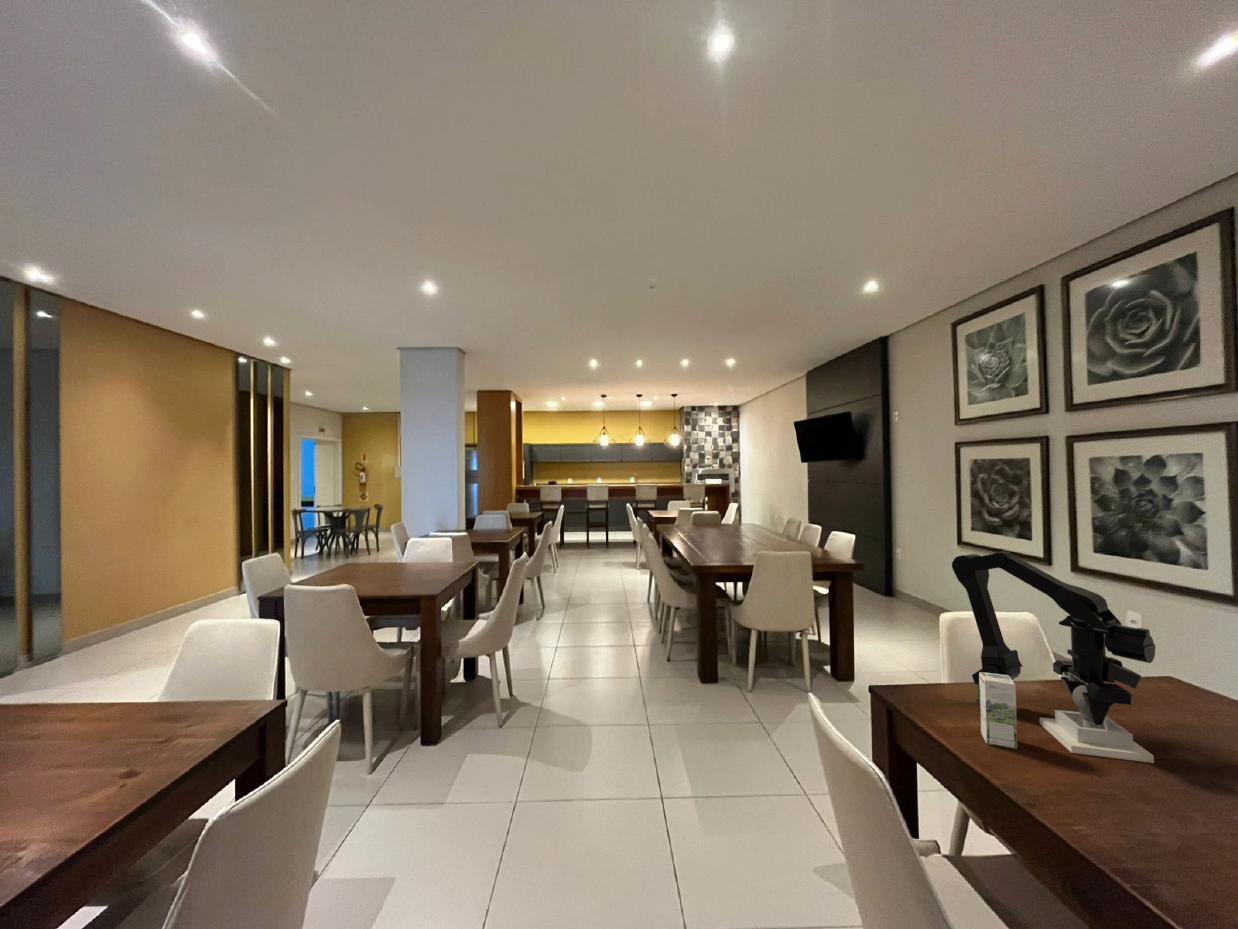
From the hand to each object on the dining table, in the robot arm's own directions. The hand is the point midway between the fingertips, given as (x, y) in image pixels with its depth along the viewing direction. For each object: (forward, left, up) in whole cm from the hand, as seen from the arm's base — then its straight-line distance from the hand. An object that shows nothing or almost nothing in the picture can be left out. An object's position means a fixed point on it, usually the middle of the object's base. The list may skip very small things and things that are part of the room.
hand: (1090, 719), depth 114 cm
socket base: (0, 0, -5) cm, 5 cm away
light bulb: (0, 0, -3) cm, 3 cm away
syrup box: (-20, -6, -5) cm, 21 cm away
